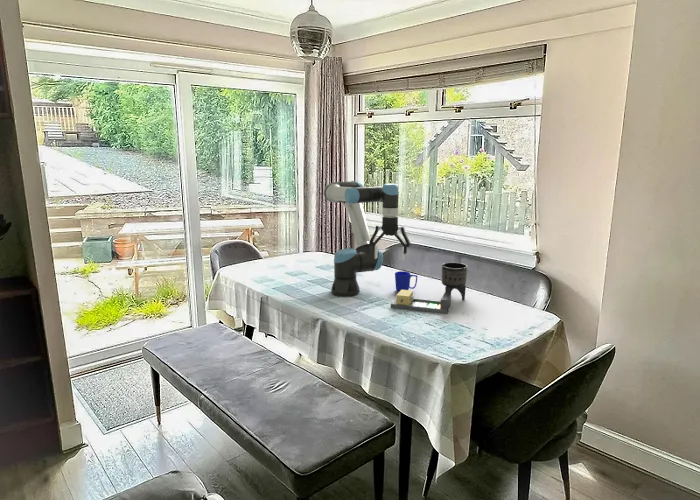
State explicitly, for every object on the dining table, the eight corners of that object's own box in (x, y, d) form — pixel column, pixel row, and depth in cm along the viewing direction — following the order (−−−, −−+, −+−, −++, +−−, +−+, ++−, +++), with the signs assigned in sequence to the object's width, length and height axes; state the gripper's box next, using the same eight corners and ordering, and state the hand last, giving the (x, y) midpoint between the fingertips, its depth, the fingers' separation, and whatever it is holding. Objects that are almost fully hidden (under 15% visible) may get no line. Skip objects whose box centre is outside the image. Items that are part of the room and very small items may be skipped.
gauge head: (395, 306, 228) (395, 296, 226) (401, 299, 239) (401, 289, 238) (409, 308, 225) (409, 298, 224) (415, 300, 236) (415, 290, 235)
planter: (467, 296, 247) (468, 263, 243) (464, 304, 235) (466, 269, 231) (442, 294, 251) (443, 261, 247) (438, 301, 239) (439, 267, 235)
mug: (416, 294, 251) (417, 275, 249) (393, 292, 254) (394, 274, 252) (417, 289, 259) (417, 271, 257) (395, 288, 262) (395, 270, 259)
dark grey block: (440, 311, 222) (440, 299, 220) (444, 303, 233) (444, 292, 231) (446, 312, 221) (447, 300, 219) (450, 304, 232) (451, 292, 230)
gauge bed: (390, 308, 230) (390, 303, 230) (397, 300, 241) (397, 296, 241) (446, 314, 221) (446, 310, 221) (450, 306, 232) (450, 302, 232)
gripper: (363, 216, 228) (362, 259, 233) (414, 218, 221) (413, 262, 225) (367, 214, 235) (367, 255, 240) (417, 216, 228) (416, 259, 232)
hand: (389, 259), depth 233 cm, fingers open, 13 cm apart
